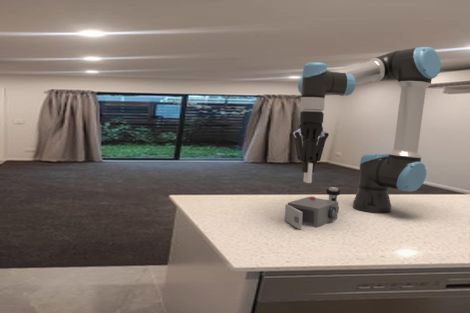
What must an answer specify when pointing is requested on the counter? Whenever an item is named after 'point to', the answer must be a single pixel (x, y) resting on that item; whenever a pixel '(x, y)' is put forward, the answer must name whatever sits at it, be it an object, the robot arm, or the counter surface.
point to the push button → (333, 194)
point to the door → (293, 216)
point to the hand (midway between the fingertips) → (307, 182)
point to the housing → (316, 210)
